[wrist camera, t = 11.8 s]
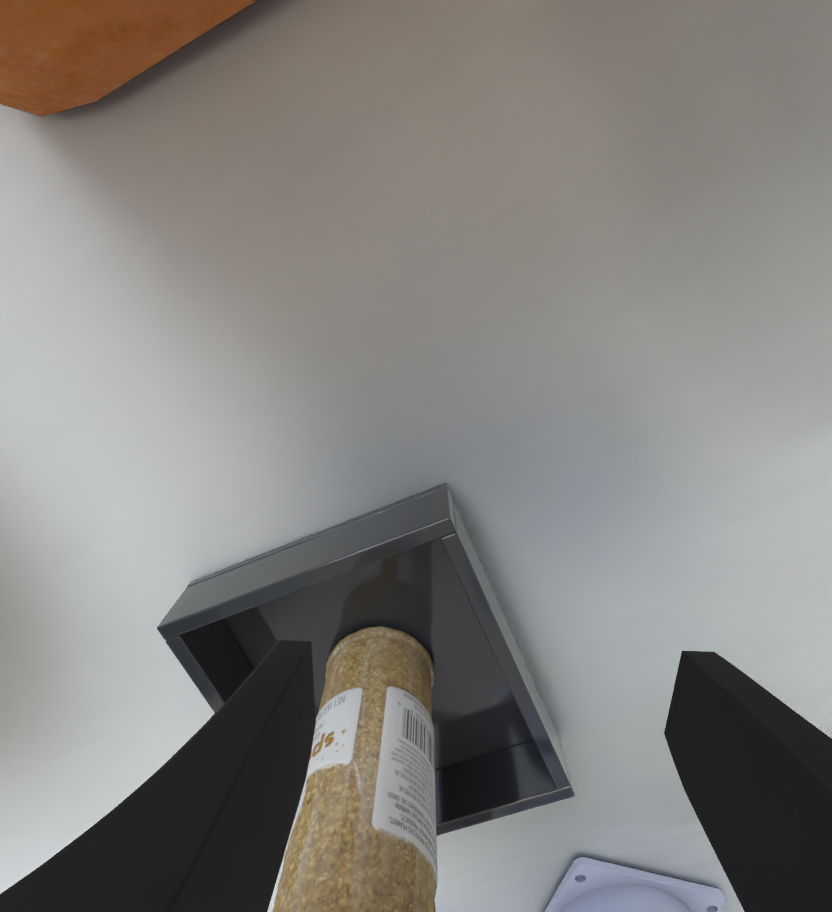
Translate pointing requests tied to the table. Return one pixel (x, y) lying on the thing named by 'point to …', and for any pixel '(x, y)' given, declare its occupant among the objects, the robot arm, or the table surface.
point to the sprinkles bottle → (368, 785)
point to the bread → (92, 45)
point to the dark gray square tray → (401, 608)
